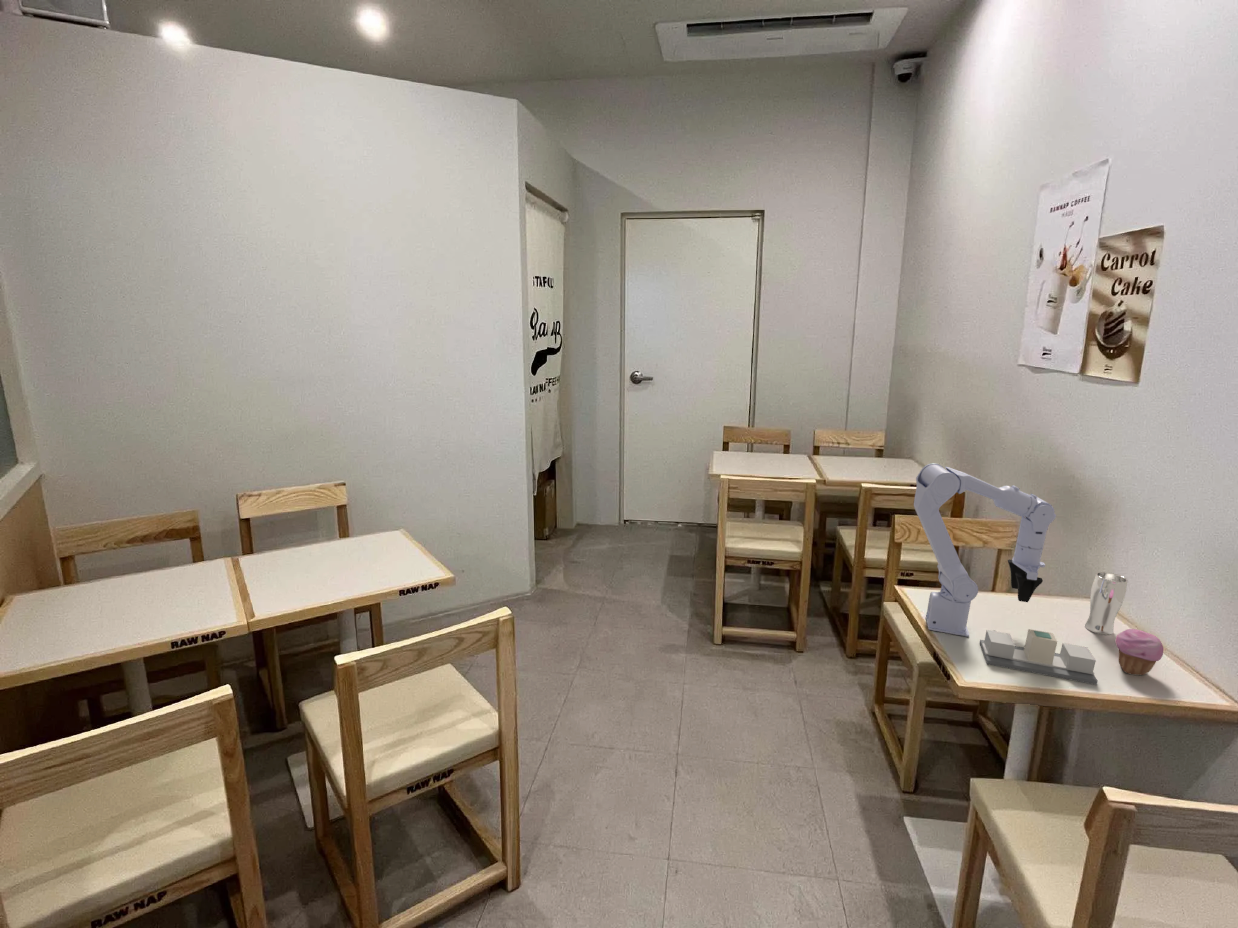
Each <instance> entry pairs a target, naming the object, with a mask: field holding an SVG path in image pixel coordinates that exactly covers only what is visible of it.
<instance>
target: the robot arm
mask: <svg viewBox="0 0 1238 928" xmlns="http://www.w3.org/2000/svg"><path fill="white" fill-rule="evenodd" d="M915 482H916V483H915V484H916V489H915V493H914V500H913V508H914V510H915V513H916V515H917V517H918V519H919V521H920V525H921V526H922V528H923V531H924V533H925V536H926V538H927V540H928V543H929V545H930V547H931V550H932V552H933V554H934V557H935V560H936V561H937V566H936V567H937V569H938V578H937V579H938V581H939V584H940V585H941V587H940V591H931V592H930V593H929V597H928V603H927V610H926V614H925V619H926V623H927V628H928V630H929V631H935V632H940V633H945V634H951V635H957V636H961V637H962V636H963V637H970V633H969V628H968V626H967V624H968V621H969V614H970V609H971V608H970V607H971V602H972V601H973V600H974V599H976V597H977V595H978V593H979V586H978V584H977V583H976V582H975V581H974V580H973V579H972V578H971V577H970V576H969V574H968V572H967V570H966V569H965V567H964V565H963V564H962V563H961V559H960V558H959V555H958V552H957V550H956V548H955V546H954V543H953V541H952V538H951V537H950V534H949V532H948V529H947V526H946V524H945V522H944V520H943V517H942V515H941V512H940V508H941V507H942V506H943V505H944V504H945V503H946V502H947V501H949V500H950V499H951V498H952V497H953V496H954V495H956V493H958V495H960V494H962V493H964V492H966V491H969V492H971V493H973V494H976V495H980V496H982V497H985V498H988V499H991V500H992V501H993V504H994V506H995V507H997V508H999V509H1001V510H1003V511H1006V512H1008V513H1012V514H1014V515H1016V516H1018V517H1021V519H1020V523H1019V528H1018V534H1017V539H1016V544H1015V549H1014V554H1013V556H1012V559H1007V563H1008V565H1009V570H1010V585H1011V589H1014V590H1017V600H1018V602H1021V603H1029V602H1030V600H1031V598H1032V596H1033V594H1034V593H1035V591H1036V590H1037V588H1038V587H1039V586H1040V585H1042V583H1043V581H1044V580H1043V578H1042V577H1039V576H1038V575H1039V570H1040V568H1045V567H1046V564H1045V562H1043V561H1042V555H1043V550H1044V545H1045V541H1046V536H1047V531H1048V530H1049V526H1050V525H1051V524H1052V523H1053V522H1054V520H1055V519H1056V517H1057V514H1056V513H1055V508H1054V507H1053V505H1052V504H1051V503H1049V502H1048V501H1046V500H1044V499H1042V498H1040V497H1038V495H1036V494H1033V493H1030V494H1029V493H1027V492H1024V491H1022V490H1020V488H1019V487H1018V486H1016V485H1013V484H1012V485H1003V486H1000V487H997V486H996V485H993V484H991V483H989V482H987V481H984V480H982V479H980V478H977V477H976V476H973V475H971V474H968V473H967V472H964V471H960V470H957V469H956V468H952V467H949V466H944V467H943V465H941V464H940V463H935V462H934V463H928V464H926V465H925V466H923V467H922V468H921V469H920V471H919V473H918V474H917V475H916V477H915Z"/></svg>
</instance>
